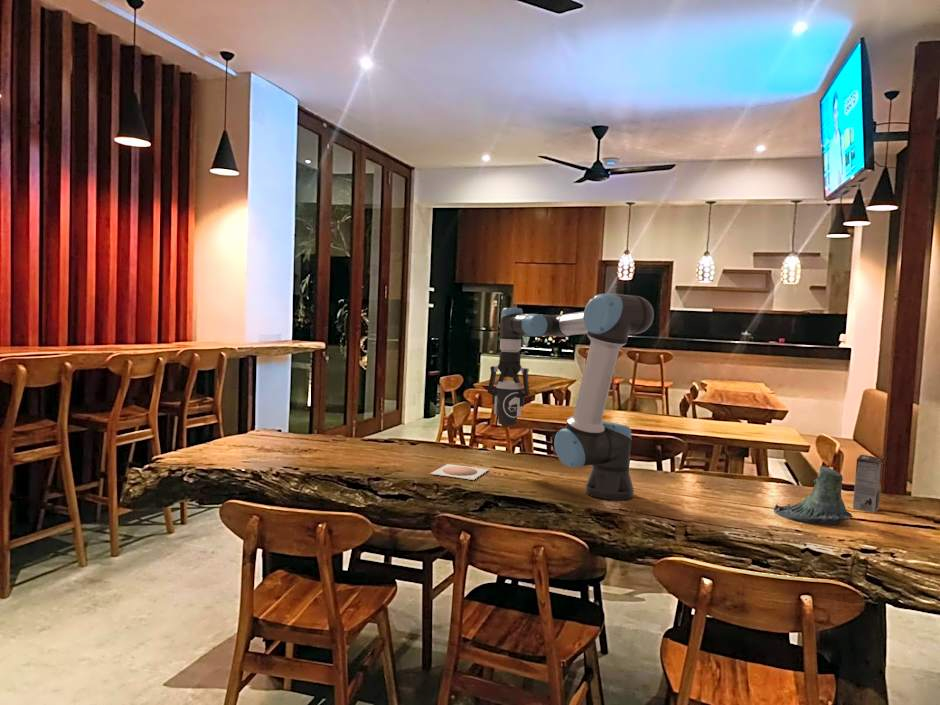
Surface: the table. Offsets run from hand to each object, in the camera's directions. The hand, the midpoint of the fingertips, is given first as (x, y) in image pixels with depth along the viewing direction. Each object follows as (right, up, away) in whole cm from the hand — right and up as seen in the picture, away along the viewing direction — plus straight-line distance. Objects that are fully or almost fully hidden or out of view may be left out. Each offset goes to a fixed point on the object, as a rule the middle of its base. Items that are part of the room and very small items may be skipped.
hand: (507, 414), depth 228 cm
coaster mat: (-17, -20, -5) cm, 27 cm away
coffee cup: (0, -3, 0) cm, 3 cm away
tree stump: (+89, -27, -38) cm, 100 cm away
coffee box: (+112, -27, -26) cm, 118 cm away
